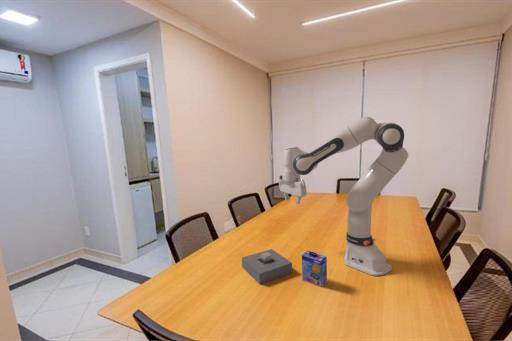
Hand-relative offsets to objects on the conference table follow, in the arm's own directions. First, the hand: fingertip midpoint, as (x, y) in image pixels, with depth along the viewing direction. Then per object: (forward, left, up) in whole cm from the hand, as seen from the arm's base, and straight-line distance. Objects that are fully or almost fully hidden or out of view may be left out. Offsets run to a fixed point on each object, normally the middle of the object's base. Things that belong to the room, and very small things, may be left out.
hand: (292, 201), depth 136 cm
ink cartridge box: (-28, +10, -29) cm, 42 cm away
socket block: (-8, +23, -29) cm, 38 cm away
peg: (-8, +23, -29) cm, 38 cm away
